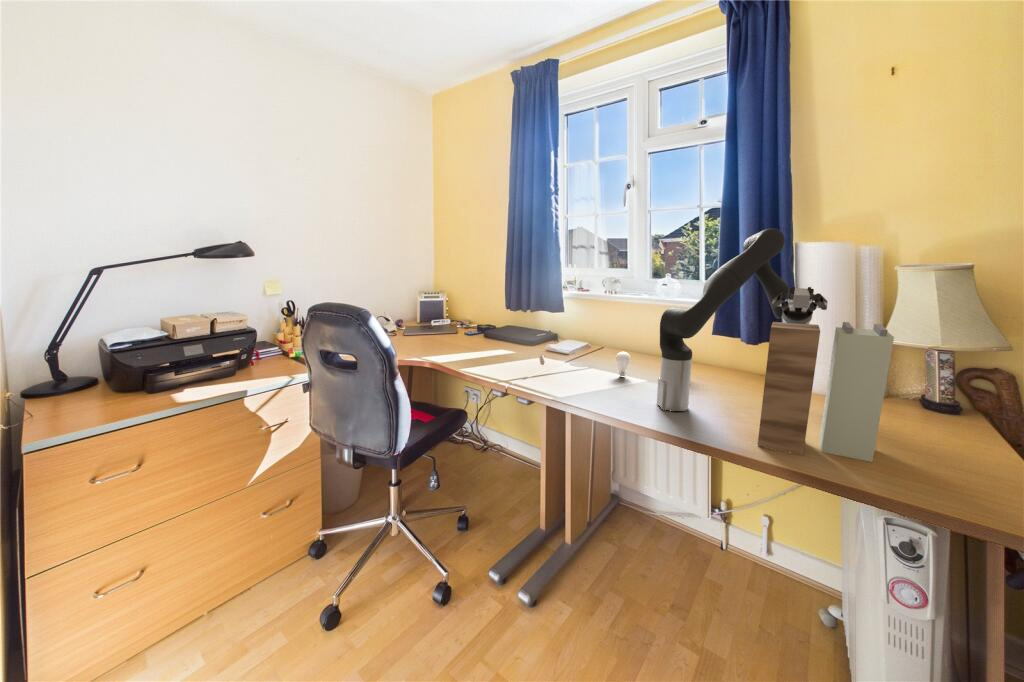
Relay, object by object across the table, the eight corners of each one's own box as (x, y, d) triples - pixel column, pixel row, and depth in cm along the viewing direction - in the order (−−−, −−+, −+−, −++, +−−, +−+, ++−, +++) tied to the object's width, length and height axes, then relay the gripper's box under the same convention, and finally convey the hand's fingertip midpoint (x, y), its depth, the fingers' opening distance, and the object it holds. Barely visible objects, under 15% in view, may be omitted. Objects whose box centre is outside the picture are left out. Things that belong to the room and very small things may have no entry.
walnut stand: (803, 455, 105) (820, 330, 99) (757, 446, 111) (771, 327, 104) (802, 441, 113) (818, 324, 107) (759, 432, 119) (772, 321, 112)
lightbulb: (617, 374, 178) (618, 349, 176) (632, 376, 175) (633, 351, 173) (612, 378, 173) (612, 352, 171) (626, 380, 170) (628, 354, 168)
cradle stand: (872, 461, 102) (895, 330, 95) (821, 451, 107) (840, 327, 101) (866, 446, 110) (887, 324, 103) (819, 437, 115) (836, 321, 109)
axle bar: (808, 308, 99) (810, 295, 98) (793, 307, 100) (794, 294, 100) (806, 299, 116) (807, 288, 116) (793, 298, 118) (794, 288, 117)
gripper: (771, 302, 131) (772, 276, 117) (826, 304, 124) (835, 277, 110) (768, 324, 129) (769, 301, 115) (824, 328, 122) (832, 303, 108)
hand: (801, 290), depth 113 cm, fingers closed on axle bar, 3 cm apart
